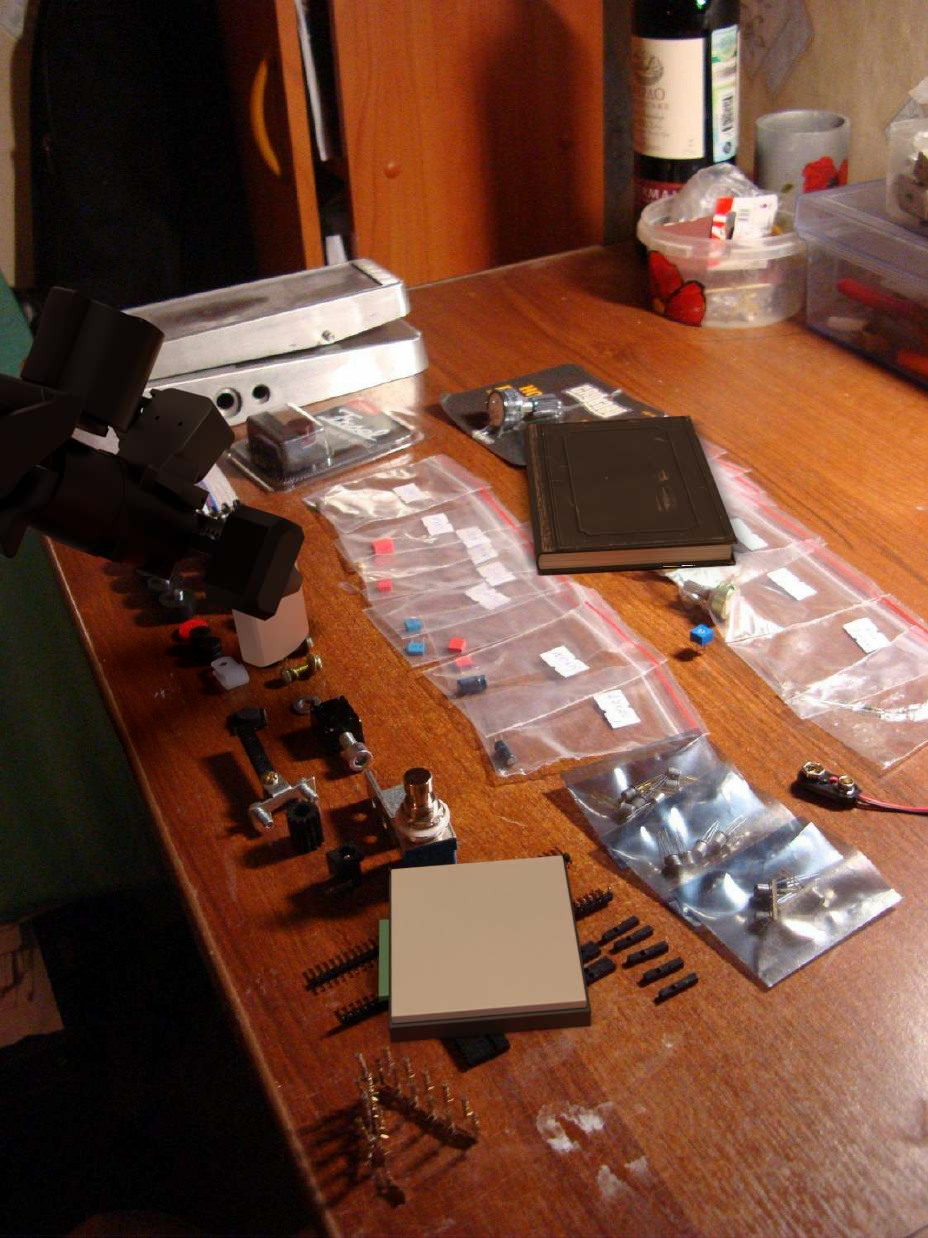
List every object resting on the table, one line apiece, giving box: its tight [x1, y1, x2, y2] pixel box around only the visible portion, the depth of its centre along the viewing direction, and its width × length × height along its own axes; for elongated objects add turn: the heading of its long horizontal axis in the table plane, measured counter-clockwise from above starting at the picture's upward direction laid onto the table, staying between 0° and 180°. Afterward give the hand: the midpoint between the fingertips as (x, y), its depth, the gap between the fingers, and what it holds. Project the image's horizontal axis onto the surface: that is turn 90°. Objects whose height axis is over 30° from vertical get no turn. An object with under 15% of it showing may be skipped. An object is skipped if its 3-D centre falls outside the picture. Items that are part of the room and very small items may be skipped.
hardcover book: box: [523, 414, 739, 576], centre depth 101 cm, size 16×23×2 cm
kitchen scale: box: [378, 855, 592, 1043], centre depth 61 cm, size 11×10×3 cm
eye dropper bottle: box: [231, 561, 310, 668], centre depth 82 cm, size 4×6×12 cm
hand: (249, 566), depth 80 cm, fingers open, 9 cm apart
